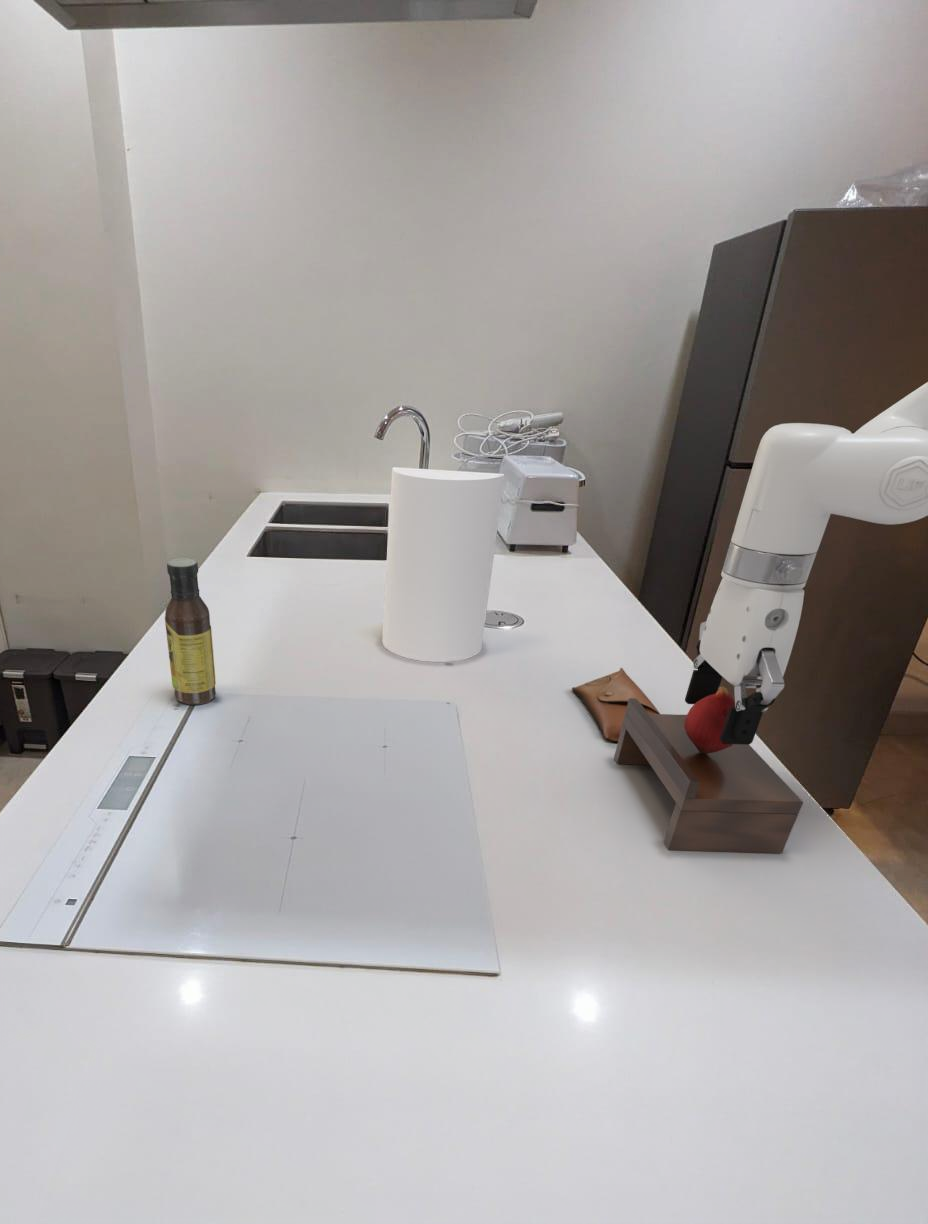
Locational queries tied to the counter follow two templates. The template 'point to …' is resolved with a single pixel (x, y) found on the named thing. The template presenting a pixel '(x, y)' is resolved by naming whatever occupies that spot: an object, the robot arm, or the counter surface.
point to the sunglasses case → (612, 701)
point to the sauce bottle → (189, 636)
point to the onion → (709, 721)
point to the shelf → (710, 787)
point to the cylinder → (439, 562)
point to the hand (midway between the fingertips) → (716, 722)
